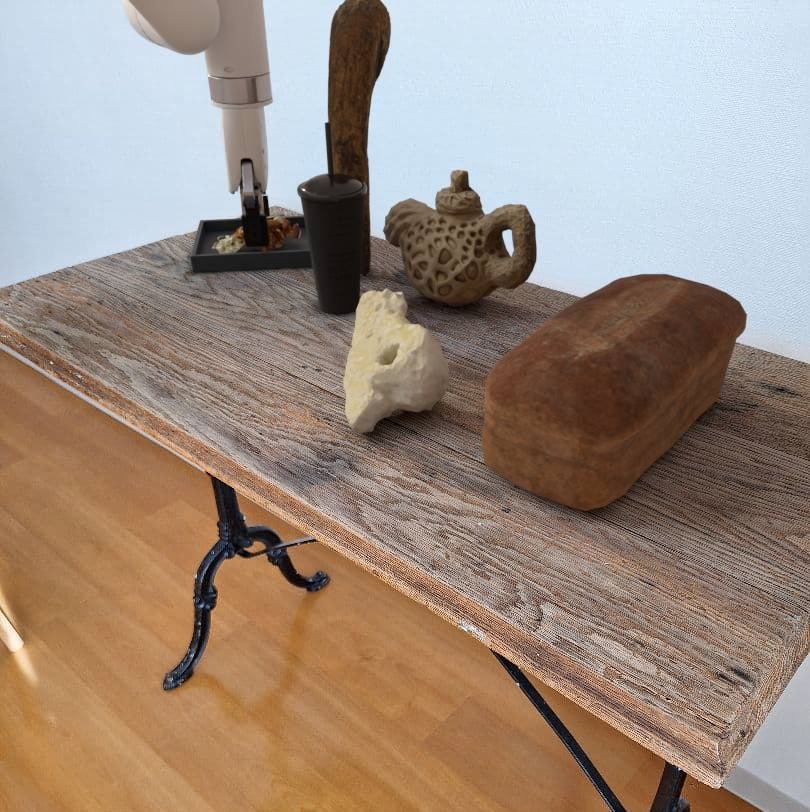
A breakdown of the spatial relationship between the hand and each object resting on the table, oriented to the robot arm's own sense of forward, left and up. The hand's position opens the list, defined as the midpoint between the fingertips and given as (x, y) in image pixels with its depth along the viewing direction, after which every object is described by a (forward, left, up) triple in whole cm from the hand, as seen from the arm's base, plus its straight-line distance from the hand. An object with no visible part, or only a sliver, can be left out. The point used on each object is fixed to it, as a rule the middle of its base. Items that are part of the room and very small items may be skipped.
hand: (258, 234), depth 111 cm
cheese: (+13, -42, -2) cm, 44 cm away
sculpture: (+14, -10, -2) cm, 17 cm away
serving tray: (0, 0, -2) cm, 2 cm away
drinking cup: (+10, -20, -2) cm, 23 cm away
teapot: (+24, -21, -2) cm, 32 cm away
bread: (+33, -52, -2) cm, 62 cm away
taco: (0, -1, -1) cm, 2 cm away
